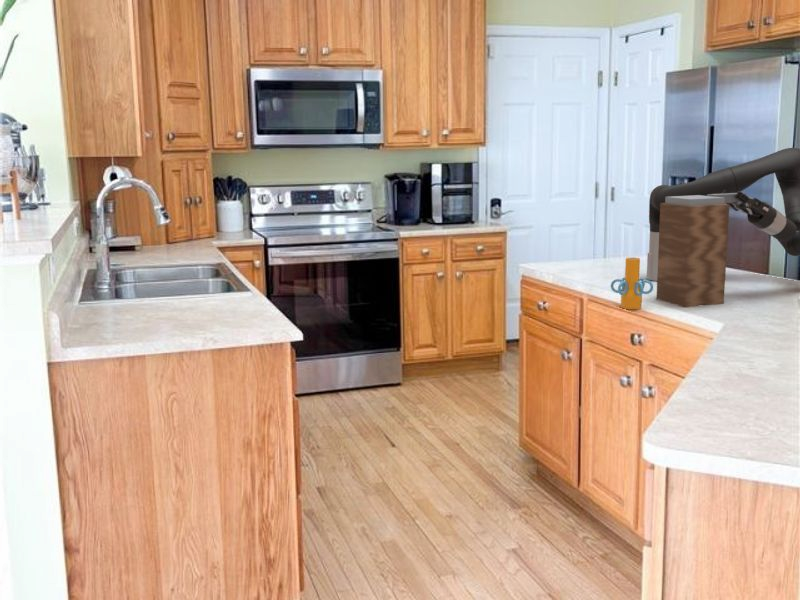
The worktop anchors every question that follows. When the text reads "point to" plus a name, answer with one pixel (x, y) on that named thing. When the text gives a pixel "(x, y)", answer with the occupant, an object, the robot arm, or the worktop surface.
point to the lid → (702, 199)
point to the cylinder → (631, 285)
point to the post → (692, 254)
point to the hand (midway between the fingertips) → (730, 193)
